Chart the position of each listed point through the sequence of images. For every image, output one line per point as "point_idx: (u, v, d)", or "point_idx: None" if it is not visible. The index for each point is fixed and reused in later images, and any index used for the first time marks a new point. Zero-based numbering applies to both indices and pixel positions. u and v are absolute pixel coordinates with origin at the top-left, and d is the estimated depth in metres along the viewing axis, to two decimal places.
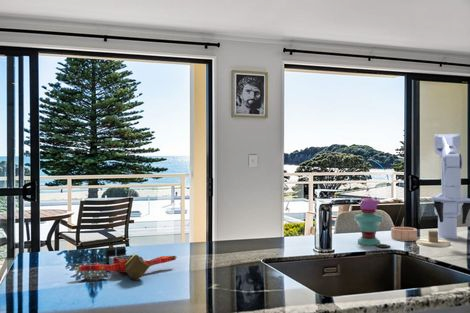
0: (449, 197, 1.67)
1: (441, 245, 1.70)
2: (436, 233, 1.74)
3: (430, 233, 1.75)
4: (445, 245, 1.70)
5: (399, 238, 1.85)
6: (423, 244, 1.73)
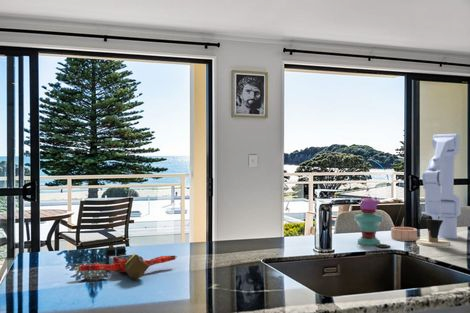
0: (425, 211, 1.77)
1: (441, 245, 1.70)
2: None
3: None
4: (445, 245, 1.70)
5: (399, 238, 1.85)
6: (423, 244, 1.73)
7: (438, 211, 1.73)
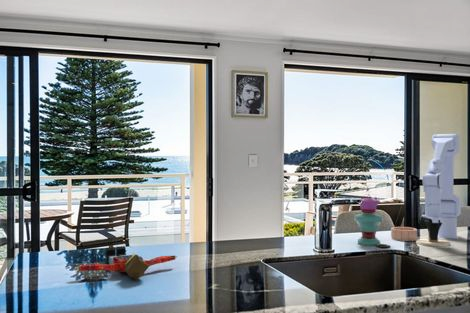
0: (425, 214, 1.77)
1: (441, 245, 1.70)
2: None
3: None
4: (445, 245, 1.70)
5: (399, 238, 1.85)
6: (423, 244, 1.73)
7: (438, 214, 1.73)
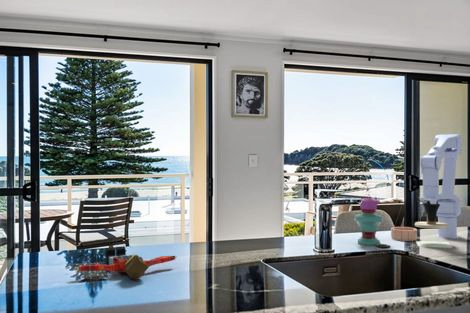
0: (423, 196, 1.78)
1: (439, 227, 1.71)
2: None
3: None
4: (443, 227, 1.71)
5: (399, 238, 1.85)
6: (421, 226, 1.73)
7: (436, 196, 1.74)
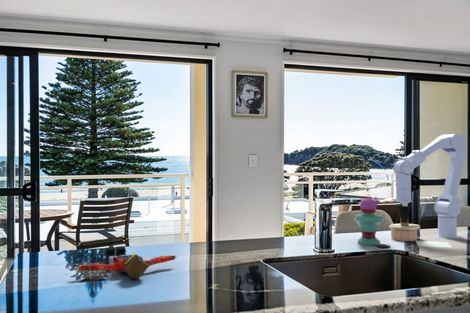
0: None
1: (411, 228, 1.82)
2: None
3: None
4: (415, 228, 1.83)
5: (399, 238, 1.85)
6: (395, 228, 1.85)
7: (408, 198, 1.86)
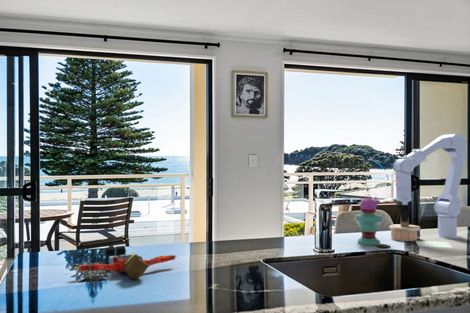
0: None
1: (411, 229, 1.82)
2: None
3: None
4: (415, 229, 1.83)
5: (399, 238, 1.85)
6: (395, 229, 1.85)
7: (408, 197, 1.86)
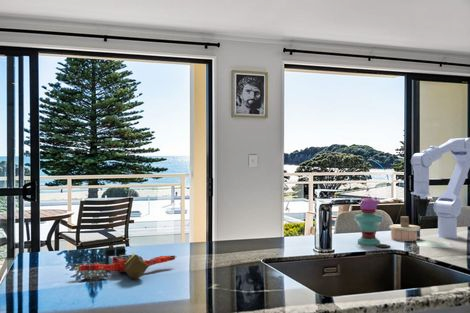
0: (414, 191, 1.88)
1: (411, 229, 1.82)
2: (407, 218, 1.86)
3: (402, 218, 1.87)
4: (415, 229, 1.83)
5: (399, 238, 1.85)
6: (395, 229, 1.85)
7: (426, 191, 1.84)
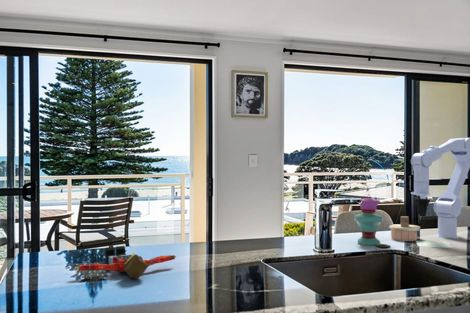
0: (414, 191, 1.88)
1: (411, 229, 1.82)
2: (407, 218, 1.86)
3: (402, 218, 1.87)
4: (415, 229, 1.83)
5: (399, 238, 1.85)
6: (395, 229, 1.85)
7: (426, 191, 1.84)
